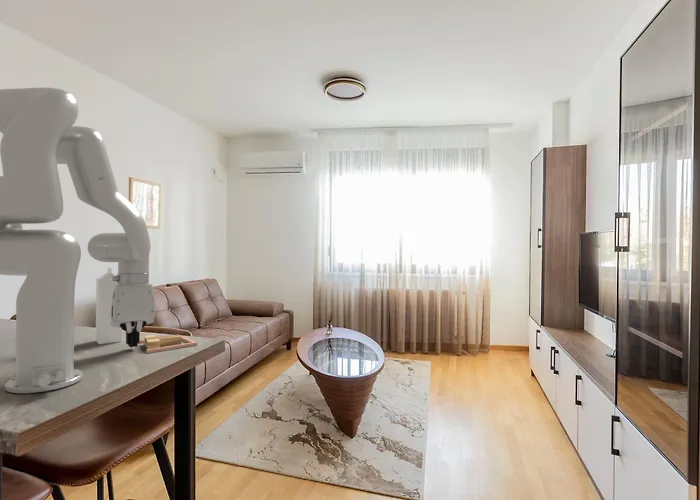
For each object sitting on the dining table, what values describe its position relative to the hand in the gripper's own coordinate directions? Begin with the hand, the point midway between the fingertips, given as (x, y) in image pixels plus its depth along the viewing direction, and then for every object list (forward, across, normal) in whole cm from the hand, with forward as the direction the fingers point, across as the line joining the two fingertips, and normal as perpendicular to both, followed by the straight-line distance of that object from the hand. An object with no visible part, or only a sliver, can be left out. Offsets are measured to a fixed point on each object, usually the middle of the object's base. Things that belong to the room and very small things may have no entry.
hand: (132, 346), depth 109 cm
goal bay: (+1, +8, 0) cm, 8 cm away
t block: (+1, +8, -1) cm, 8 cm away
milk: (+1, -2, +15) cm, 15 cm away
